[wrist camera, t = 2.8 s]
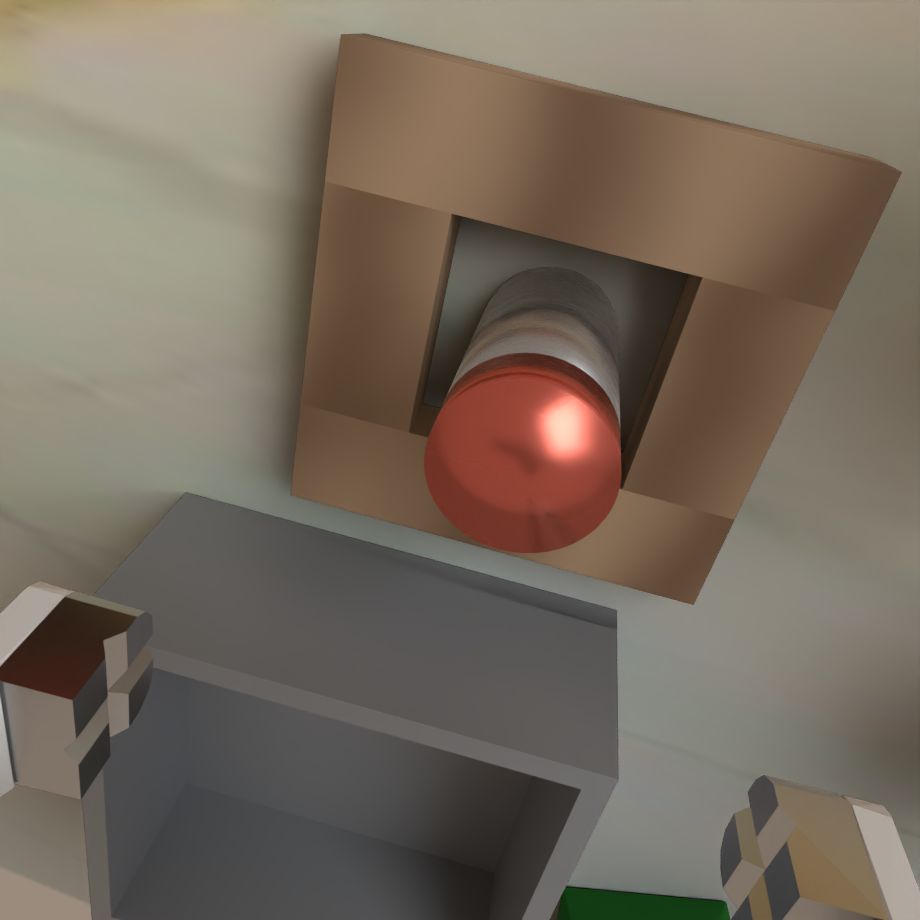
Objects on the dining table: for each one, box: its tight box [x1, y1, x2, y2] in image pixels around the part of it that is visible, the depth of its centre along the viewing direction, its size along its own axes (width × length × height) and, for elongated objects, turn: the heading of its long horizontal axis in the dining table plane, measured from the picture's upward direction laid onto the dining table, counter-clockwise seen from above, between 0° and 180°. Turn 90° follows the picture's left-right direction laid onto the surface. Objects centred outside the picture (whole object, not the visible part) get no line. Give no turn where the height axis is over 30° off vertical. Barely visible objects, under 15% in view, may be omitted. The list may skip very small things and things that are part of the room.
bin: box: [82, 493, 618, 920], centre depth 28 cm, size 16×16×7 cm
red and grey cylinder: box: [424, 267, 621, 553], centre depth 19 cm, size 4×4×8 cm
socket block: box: [290, 34, 902, 605], centre depth 22 cm, size 13×13×2 cm
